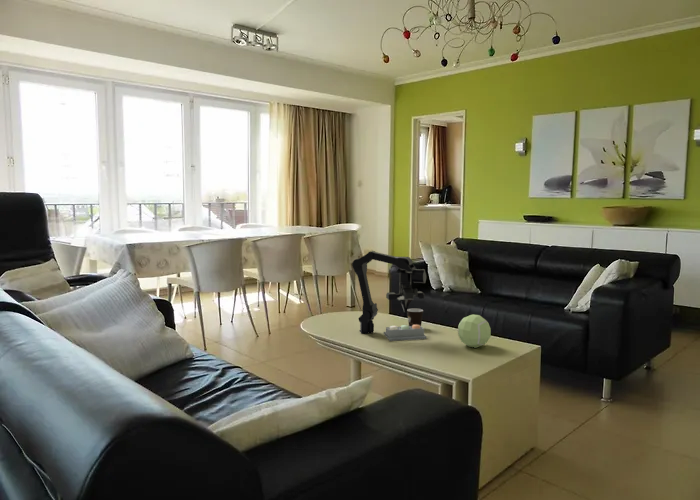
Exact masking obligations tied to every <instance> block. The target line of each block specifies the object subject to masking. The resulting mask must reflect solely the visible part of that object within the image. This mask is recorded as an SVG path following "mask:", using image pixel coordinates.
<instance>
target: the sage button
mask: <svg viewBox="0 0 700 500" xmlns="http://www.w3.org/2000/svg"><path fill="white" fill-rule="evenodd" d="M400 327H401V329H409V324H402V325H400Z"/></svg>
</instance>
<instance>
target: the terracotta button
mask: <svg viewBox="0 0 700 500" xmlns="http://www.w3.org/2000/svg"><path fill="white" fill-rule="evenodd" d="M412 328H413V329H420V325H412Z"/></svg>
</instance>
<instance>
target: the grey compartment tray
mask: <svg viewBox="0 0 700 500" xmlns="http://www.w3.org/2000/svg"><path fill="white" fill-rule="evenodd" d="M408 326H409V325H408ZM383 335H384V336H385V337H386V339H388V341H389V342H394V341H396V342H397V341H413V340H414V341H415V340H427V339H428V337H427V336H426V335H425V328H424V327H423V326H422V325H421V326H420V329H413V328H412V326H409V329H401V326H397V330H390V326H387V327H386V326H385V331H383Z"/></svg>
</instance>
